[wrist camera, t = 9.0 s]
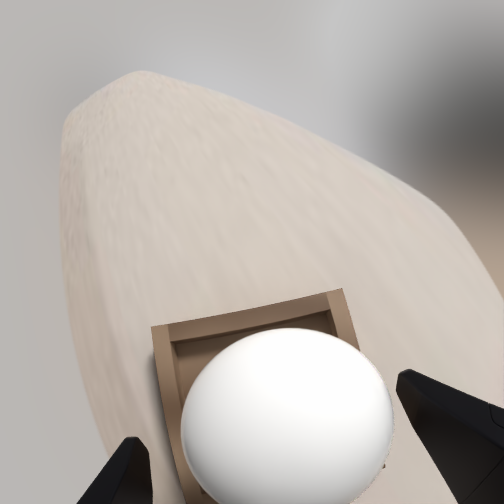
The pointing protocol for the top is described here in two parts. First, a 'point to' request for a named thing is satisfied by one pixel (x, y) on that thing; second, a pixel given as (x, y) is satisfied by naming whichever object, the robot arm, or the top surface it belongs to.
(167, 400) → the walnut tray
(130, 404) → the top surface
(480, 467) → the robot arm
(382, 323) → the top surface
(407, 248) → the top surface
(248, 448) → the lightbulb
